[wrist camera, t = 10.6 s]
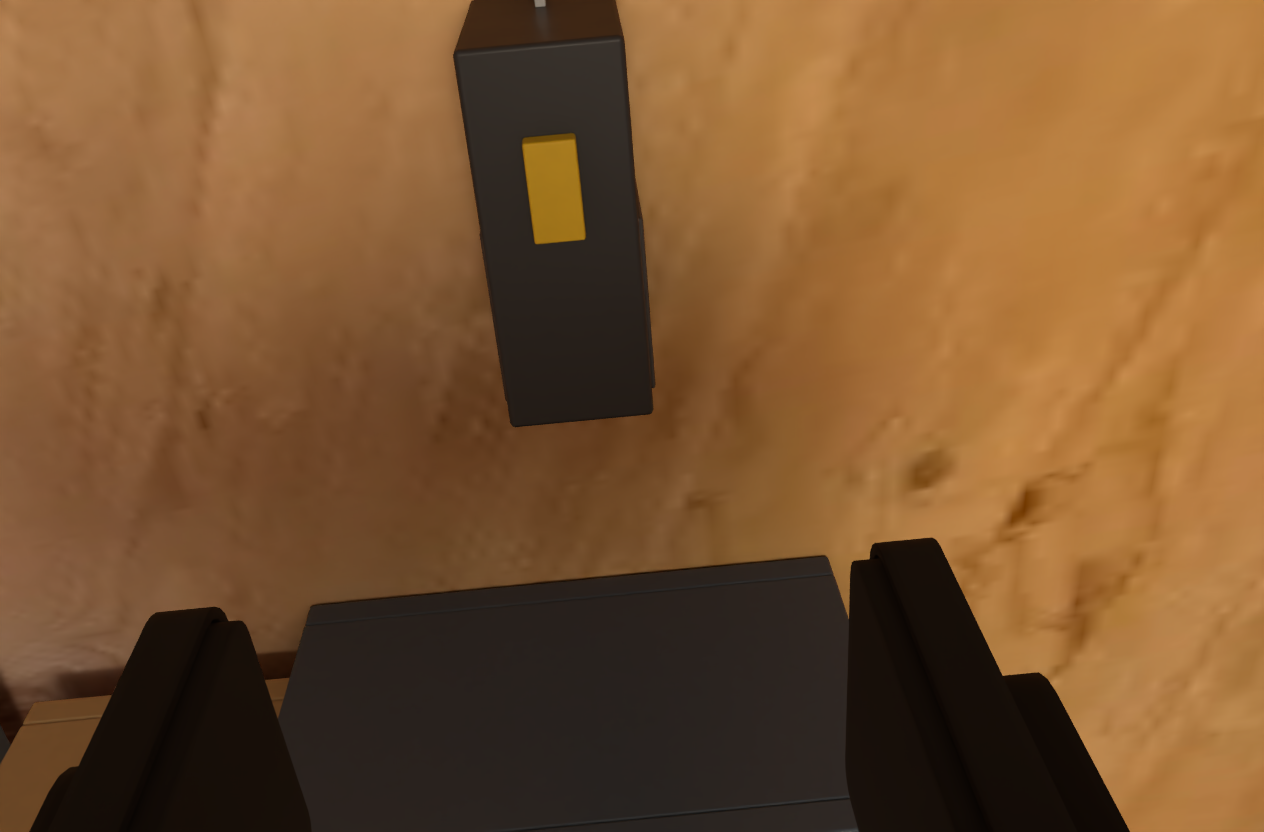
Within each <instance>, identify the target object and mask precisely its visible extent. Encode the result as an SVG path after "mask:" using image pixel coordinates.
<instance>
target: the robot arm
mask: <svg viewBox="0 0 1264 832" xmlns="http://www.w3.org/2000/svg"><path fill="white" fill-rule="evenodd" d="M845 770H846V779H847V786H848V792H849V797H850V801H851V805H852V809H853V812H854V816H855V819H856V823H857V827H858V830H859V832H1130V831H1129V829H1128V827H1127V825H1126V823H1125V821H1124V819H1123V818H1122V816H1121V814H1120V812H1119V810H1118V808H1117V806H1116V804H1115V802H1114V801H1113V799H1112V797H1111V795H1110V793H1109V791H1108V789H1107V787H1106V785H1105V784H1104V782H1103V780H1102V778H1101V776H1100V774H1099V772H1098V770H1097V768H1096V766H1095V765H1094V763H1093V761H1092V759H1091V757H1090V755H1089V753H1088V751H1087V749H1086V748H1085V746H1084V744H1083V742H1082V740H1081V738H1080V736H1079V734H1078V732H1077V731H1076V729H1075V727H1074V725H1073V723H1072V721H1071V719H1070V717H1069V715H1068V713H1067V712H1066V710H1065V708H1064V706H1063V704H1062V702H1061V700H1060V698H1059V696H1058V695H1057V693H1056V691H1055V690H1054V688H1053V687H1052V685H1051V684H1050V682H1049V681H1048V679H1047V678H1045V677H1044V676H1043V675H1042V674H1040V673H1027V674H1017V675H1007V676H1002V674H1001V672H1000V670H999V667H998V665H997V663H996V661H995V659H994V657H993V655H992V653H991V651H990V649H989V647H988V644H987V642H986V640H985V638H984V636H983V634H982V632H981V630H980V628H979V626H978V624H977V622H976V619H975V617H974V615H973V613H972V611H971V609H970V607H969V605H968V603H967V601H966V599H965V597H964V594H963V592H962V590H961V588H960V586H959V584H958V582H957V580H956V578H955V576H954V574H953V572H952V569H951V567H950V565H949V563H948V561H947V559H946V557H945V555H944V553H943V551H942V549H941V547H940V545H939V543H938V542H937V540H935V539H934V538H923V539H912V540H902V541H892V542H881V543H875V544H873V545H872V548H871V551H870V559H869V560H858V561H853V562H852V565H851V573H850V605H849V640H848V675H847V710H846V746H845ZM29 832H312V829H311V820H310V815H309V811H308V808H307V805H306V802H305V799H304V796H303V793H302V790H301V787H300V784H299V781H298V778H297V775H296V772H295V769H294V766H293V763H292V760H291V757H290V754H289V751H288V748H287V745H286V742H285V739H284V736H283V733H282V730H281V727H280V724H279V721H278V718H277V715H276V712H275V709H274V706H273V703H272V700H271V697H270V694H269V691H268V688H267V685H266V682H265V679H264V676H263V673H262V670H261V667H260V664H259V661H258V658H257V655H256V652H255V649H254V646H253V643H252V640H251V637H250V634H249V631H248V629H247V627H246V625H245V624H244V623H243V621H239V620H238V621H228V619H227V617H226V615H225V613H224V612H223V611H222V610H221V609H220V608H218V607H208V608H198V609H187V610H177V611H167V612H157V613H155V614H153V615H152V616H151V617H150V618H149V620H148V621H147V623H146V624H145V626H144V628H143V630H142V633H141V635H140V637H139V639H138V641H137V643H136V645H135V647H134V649H133V652H132V654H131V656H130V658H129V660H128V662H127V664H126V666H125V669H124V671H123V673H122V675H121V677H120V679H119V681H118V683H117V685H116V688H115V690H114V692H113V694H112V696H111V698H110V700H109V702H108V704H107V707H106V709H105V711H104V713H103V715H102V717H101V719H100V721H99V723H98V726H97V728H96V730H95V732H94V734H93V736H92V738H91V740H90V743H89V745H88V747H87V749H86V751H85V753H84V755H83V757H82V759H81V762H80V764H79V766H76V767H70V768H68V769H67V770H66V771H64V772H63V773H62V774H61V775H59V776H58V778H57V780H56V781H55V783H54V784H53V786H52V787H51V789H50V790H49V792H48V794H47V796H46V798H45V800H44V802H43V804H42V806H41V808H40V810H39V813H38V815H37V817H36V819H35V821H34V823H33V825H32V827H31V829H30V831H29Z"/></svg>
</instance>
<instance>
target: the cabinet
mask: <svg viewBox="0 0 1264 832" xmlns="http://www.w3.org/2000/svg"><path fill="white" fill-rule="evenodd" d="M848 640H849V619H848V616H847V613H846V610H845V607H844V604H843V601H842V598H841V595H840V592H839V589H838V586H837V583H836V580H835V577H834V576H833V571H832V568H831V565H830V562H829V559H828V558H827V557H826V556H823V557H812V558H802V559H792V560H781V561H771V562H761V563H750V564H740V565H730V566H719V567H709V568H699V569H688V570H678V571H668V572H657V573H647V574H637V575H626V576H616V577H606V578H595V579H585V580H575V581H564V582H554V583H544V584H533V585H523V586H513V587H502V588H492V589H482V590H471V591H461V592H450V593H440V594H430V595H419V596H409V597H399V598H388V599H378V600H368V601H357V602H347V603H337V604H326V605H316V606H312V607H310V611H309V614H308V618H307V621H306V625H305V627H304V630H303V633H302V637H301V640H300V644H299V647H298V651H297V654H296V658H295V661H294V664H293V668H292V671H291V675H290V678H289V682H288V685H287V689H286V692H285V696H284V699H283V702H282V706H281V709H280V713H279V716H278V721H279V724H280V727H281V730H282V733H283V736H284V739H285V742H286V745H287V748H288V751H289V754H290V757H291V760H292V763H293V766H294V769H295V772H296V775H297V778H298V781H299V784H300V787H301V790H302V793H303V796H304V799H305V802H306V805H307V808H308V811H309V815H310V820H311V829H312V832H859V830H858V827H857V823H856V819H855V816H854V812H853V809H852V805H851V801H850V797H849V792H848V786H847V779H846V770H845V746H846V710H847V675H848Z"/></svg>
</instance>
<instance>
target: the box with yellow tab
mask: <svg viewBox="0 0 1264 832" xmlns="http://www.w3.org/2000/svg"><path fill="white" fill-rule="evenodd" d="M453 58H454V65H455V71H456V78H457V84H458V91H459V97H460V103H461V110H462V116H463V123H464V129H465V136H466V142H467V148H468V155H469V161H470V168H471V174H472V180H473V187H474V193H475V200H476V206H477V213H478V219H479V225H480V240H481V247H482V253H483V260H484V266H485V272H486V279H487V285H488V291H489V298H490V304H491V311H492V317H493V323H494V330H495V336H496V343H497V349H498V355H499V362H500V368H501V375H502V381H503V387H504V394H505V400H506V401H507V405H508V412H509V418H510V423H511V425H512V426H513V427H522V426H532V425H543V424H553V423H564V422H574V421H585V420H595V419H606V418H616V417H627V416H637V415H648V414H651V413H652V411H653V398H652V388H654V387H655V373H654V360H653V347H652V334H651V321H650V307H649V294H648V281H647V268H646V255H645V242H644V229H643V218H642V213H641V207H640V201H639V196H638V190H637V185H636V179H635V169H634V156H633V144H632V131H631V118H630V105H629V93H628V80H627V67H626V54H625V42H624V36H623V32H622V27H621V23H620V19H619V14H618V10H617V5H616V1H615V0H473V1H472V2H471V4H470V7H469V10H468V13H467V16H466V19H465V22H464V25H463V27H462V30H461V33H460V36H459V39H458V42H457V45H456V48H455V51H454V54H453Z"/></svg>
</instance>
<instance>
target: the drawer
mask: <svg viewBox="0 0 1264 832" xmlns="http://www.w3.org/2000/svg"><path fill="white" fill-rule="evenodd" d="M265 682H266V685H267V688H268V691H269V694H270V697H271V700H272V703H273V706H274V709H275V712H276V715H277V718H278V716H279V713H280V709H281V706H282V702H283V699H284V696H285V692H286V689H287V685H288V682H289V678H280V679H270V680H265ZM111 696H112V695H106V696H95V697H85V698H75V699H64V700H54V701H44V702H36V703H34V704H33V705H32V707H31V709H30V711H29V713H28V714H27V716H26V718H25V720H24V722H23V726H22V727H20V729H19V731H18V733H17V735H16V736H15V738H14V740H13V742H12V744H11V745H10V743H9V741H8V739H7V737H6V735H5V733H4V731H3V729H2V727H1V725H0V832H29V831H30V829H31V827H32V825H33V823H34V821H35V819H36V817H37V815H38V813H39V810H40V808H41V806H42V804H43V802H44V800H45V798H46V796H47V794H48V792H49V790H50V789H51V787H52V786H53V784H54V783H55V781H56V780H57V778H58V776H59V775H61V774H62V773H63V772H64V771H66V770H67V769H68V768H70V767H76V766H79V764H80V762H81V759H82V757H83V755H84V753H85V751H86V749H87V747H88V745H89V743H90V740H91V738H92V736H93V734H94V732H95V730H96V728H97V726H98V723H99V721H100V719H101V717H102V715H103V713H104V711H105V709H106V707H107V704H108V702H109V700H110V698H111Z"/></svg>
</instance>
